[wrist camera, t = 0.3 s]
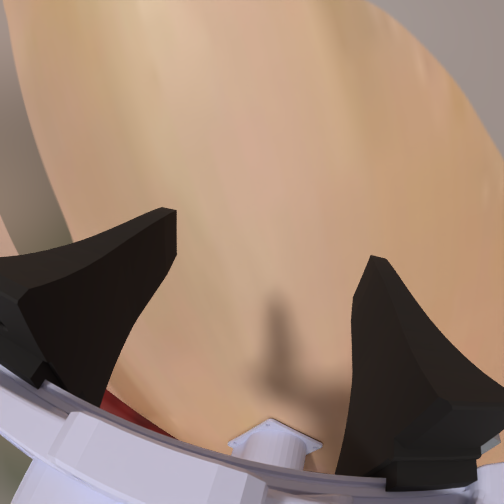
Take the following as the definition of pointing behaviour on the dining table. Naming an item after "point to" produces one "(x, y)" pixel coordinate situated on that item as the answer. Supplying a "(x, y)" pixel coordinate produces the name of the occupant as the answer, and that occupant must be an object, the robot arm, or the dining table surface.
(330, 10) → the dining table surface
